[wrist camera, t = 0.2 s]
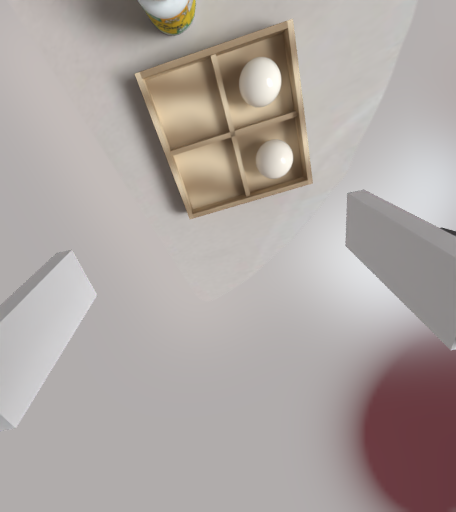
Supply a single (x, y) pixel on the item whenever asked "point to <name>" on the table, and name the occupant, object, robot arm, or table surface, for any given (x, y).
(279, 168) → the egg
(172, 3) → the supplement bottle
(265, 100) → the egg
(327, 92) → the table surface
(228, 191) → the wooden compartment tray
